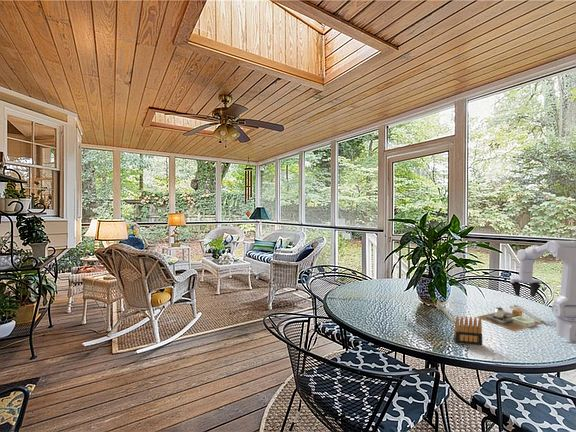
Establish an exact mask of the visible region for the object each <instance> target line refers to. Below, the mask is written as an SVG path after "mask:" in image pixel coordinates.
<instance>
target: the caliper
mask: <svg viewBox="0 0 576 432" xmlns="http://www.w3.org/2000/svg"><path fill="white" fill-rule="evenodd" d="M436 309H437V310H438V311H441V312H443V313H444V314H445V316H447V318H448V320H449V321H450V322H451V323H452V324H453V325H455V323H456V319H454V318H453V317H452V315H451V314H450V313H449V312H448V311H447V309H446V308H445V306H444V305H443V303H442V301H441V299H437V301H436Z"/></svg>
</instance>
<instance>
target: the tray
mask: <svg viewBox="0 0 576 432" xmlns="http://www.w3.org/2000/svg"><path fill="white" fill-rule="evenodd" d="M511 319H512V320H513V323H515V324H518V325H521V326H524V327H530V326H533V327H535V326H534V325H535V321H536V320H533V319H530V318H527V317H524V316H522V317H521V316H517V317H513V318H511ZM530 328H531V327H530Z"/></svg>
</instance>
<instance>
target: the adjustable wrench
mask: <svg viewBox="0 0 576 432" xmlns="http://www.w3.org/2000/svg"><path fill="white" fill-rule="evenodd" d="M509 309H513V310H514V309H517V310H521V311H522V314H525V315H527V316H529V317H530V318H532V319H534V320H535V321H537V322H540V323H543V324H542V325H547V322H546V321H545V320H543V319H541V318H539V317H538V316H536V315H533V314H532V313H530V312H528V310H527V311H526V310H525V309H524V308H523V306H521V305H517V304H514V305H509Z"/></svg>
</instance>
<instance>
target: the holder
mask: <svg viewBox="0 0 576 432" xmlns="http://www.w3.org/2000/svg"><path fill="white" fill-rule="evenodd" d="M508 314H512V312H508V311H506V310H504V315H508ZM479 317H480V318H481V321H485V322H488V323H490V324H492V325H496V326H498V327H502V328H503V329H507V330H509V331H512V332H514V333H515V332H518V331H522V330H526V329H530V328H532V327H537V326H540V325H544V324H543V323H541V322H539V321H537V320H534V321H535V325H534V326H530V327H524V326H521V325H518V324H515V323H513V320H512V319H511V318H513V317H515V316H513V317H509V318H504V320H498V319H496V318H495V312H493V313H492V312H491V313H488V314H483V315H478V316H476V319H479Z"/></svg>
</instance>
